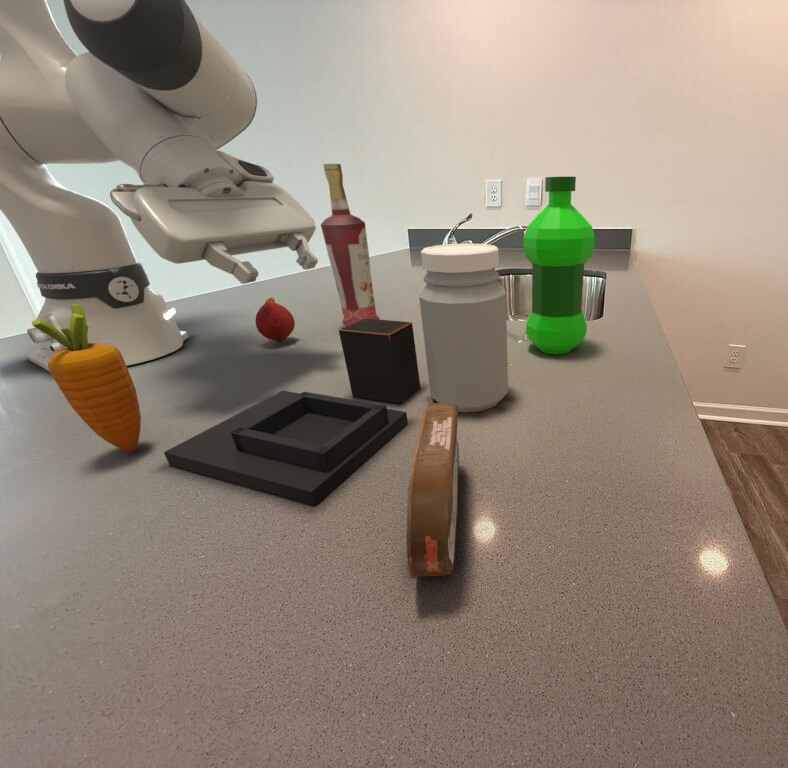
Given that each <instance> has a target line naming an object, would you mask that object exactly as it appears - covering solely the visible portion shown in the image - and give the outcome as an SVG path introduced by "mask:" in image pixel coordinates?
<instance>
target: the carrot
mask: <svg viewBox="0 0 788 768" xmlns="http://www.w3.org/2000/svg"><path fill="white" fill-rule="evenodd" d="M71 310H72V315H71V319H70V327H69V330H68V328H67V327H62V328H61V329H60V330H61V331H62V332H63V334H64V335H65V336H66V337H65V336H64V335H63V334H62V333H60V332H59V331H58V330H57V329H56V328H55V327H54V326H52V325H51V324H49V323H48V322H46V321H44V320H41V319H37V318H36V319H37V320H36V319H34V320H32V321H31V325H32V327H33V328H35V327H36V328H37V329H39V330H41V331H43V332H45V333H46V334H48V335H49V336H50V337H52V338H53V339H55V340H56V341H58V342H59V343H61V344H62V345H64V346H65V347H66V349H62V350H59V351H58V352H56V353H55V354H54V355H53V356H52V357H51V359H50V360H49V362H48V368H49V371H50V372H49V371H48V372H49V373H50V375H51V377H52V378H53V379H54V381H55V383H56V385H57V386H58V388H59V390H60V391H61V393H62V394H63V395H64V397H65V399H66V400H67V402H68V404H69V405H70V407H71V408H72V410H74V412H75V413H76V414H77V415H78V417H80V419H81V420H82V422H84V423H85V424H86V425H87V426H88V427H89V428H90V429H91V430H92V431H93V432H94V434H96V435H97V436H98V437H100V438H102V439H103V440H104V441H106V442H107V443H109V444H111V445H112V446H113V447H116V448H118V449H120V450H121V451H124V452H128V453H129V452H130V453H133V452H135V451H136V449H137V448H138V446H139V440H140V435H141V428H142V427H141V426H142V425H141V424H142V415H141V409H140V403H139V399H138V393H137V390H136V388H135V384H134V382H133V379H132V375H131V374H130V371H129V369H128V366H126V364H125V361H124V359H123V357H122V354H121V353H120V351H119V350H118V349H117V348H116V347H115V346H113V345H110V344H104V343H88V338H87V332H88V325H87V323H86V316H85V311H84V307H83V306H80V305H78V304H73V305H71Z"/></svg>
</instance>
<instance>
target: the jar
mask: <svg viewBox="0 0 788 768" xmlns="http://www.w3.org/2000/svg"><path fill="white" fill-rule="evenodd" d="M420 259H421V265H422V266H421V267H422V270H425V271H426V274H425V275H424V276H423V282H424V283H426V284H425V286H424V288H423V289H422V291H421V293H420V295H419V297H418V298H419V308H420V317H421V324H422V332H423V342H424V350H425V358H426V366H427V367H426V368H427V375H428V383H429V393H430V397H431V398H432V399H434V400H435V402H436V403H452V404H456V405H458V413H461V414H462V413H464V414H465V413H480V412H482V411H485V410H488V409H492V408H494V407H495V406H496V405H498V404H499V402H501V401H502V400H503V398H504V397H505V396H506V395H507V394H508V392H509V369H508V365H509V364H508V363H509V362H508V329H507V327H508V326H507V324H508V323H507V295H506V290H505V287H504V286H503V285H502V284H501V283H500V282H499V279H500V274H499V271H496V268H498V267H499V265H500V264H499V263H500V262H499V261H500V260H499V248H498V247H497V246H496V245H493V244H486V243H449V244H437V245H432V246H426V247H424V248H423V249H422V250H421V251H420Z"/></svg>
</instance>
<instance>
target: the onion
mask: <svg viewBox="0 0 788 768" xmlns="http://www.w3.org/2000/svg"><path fill="white" fill-rule="evenodd" d="M295 326H296V322H295V318H294V316H293V314H292V312H290V310H289V309H287V308H286V307H285V306H283V305H281V304H279V303H277V302H276V301H275V298H274V297H272V296H270V297H267V298H266V300H265V302H264V304H262V306H261V307H260V308H259V310H257V312H256V315H255V327H256V330H257V331H258V332H259V334H260V335H261V336H262V337H264V338H266V339H268V340H270V341H273V342H276V343H277V344H283V343H285V341H287V339H288V337H289V336H291V334H292V333H293V331H294V329H295Z"/></svg>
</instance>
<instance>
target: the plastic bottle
mask: <svg viewBox="0 0 788 768" xmlns="http://www.w3.org/2000/svg"><path fill="white" fill-rule="evenodd" d="M544 179H545V182H544V183H545V185H544V192H545V193H548V205H546V206H545V207H544V208H543V209H542V210H541V211H540V212H539V213H537V216H535V217H534V219H532V220H531V222H530V223H529V224H528V225H527V226H526V228H525V232H524V235H523V250H524V255H525V257H526V259H527V260H528V261H529V262H530V263H531V270H532V271H531V274H532V275H531V310H530V312H529V314H528V316H527V318H526V319H527V320H526V324H525V331H526V332H525V333H526V335H527V338H528V340H529V341H530V342H531V344H532V345H534V346H536V347H537V348H538V349H539V351H541V352H542V353H544V354H549V355H563V354H564V355H565V354H567V353H570V352H571V351H572V349H574V348H575V347H577V346H578V345H579V344H581V343H582V341H583V340H584V339H585V337H586V335H587V329H588V328H587V327H588V325H587V321H586V317H585V314H584V312H583V310H582V309H583V292H584V274H585V263H587V262H588V260H589V259H591V258H592V256H593V253H594V249H595V239H596V238H595V237H596V235H595V231H594V228H593V226H592V225H591V224H590V222H588V220H587V219H586V218H585V217H584V215H583V214H582V213H581V212H579V210H578V209H577V208H576V207H575V206H573V204H572V192H576V185H577V184H576V183H577V181H576V180H577V177H576V176H546V177H545V178H544Z"/></svg>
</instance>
